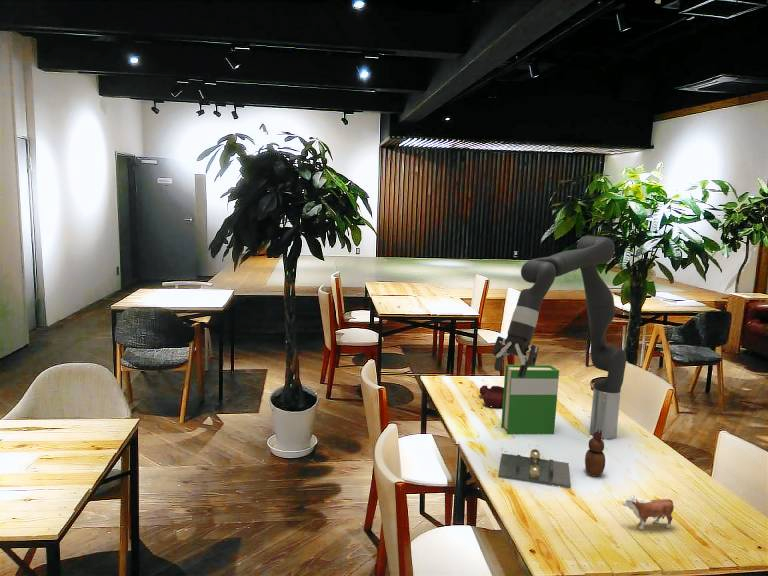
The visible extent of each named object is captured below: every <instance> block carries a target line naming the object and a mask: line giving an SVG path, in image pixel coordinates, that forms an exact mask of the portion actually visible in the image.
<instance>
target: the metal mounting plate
mask: <svg viewBox="0 0 768 576" xmlns="http://www.w3.org/2000/svg"><path fill="white" fill-rule="evenodd" d="M529 454H530V455H529V456H522V455H521V454H509V453H501V456H500V461H499V462H500V463H499V468H498V474H497V478H502V479H508V480H513V481H514V480H515V481H519V482H527V483H531V484H532V483H533V484H541V485H545V484H546V485H547V486H552V485H554V486H553V487H558V486H560V487H559V488H564V489H565V488H566V489H572V488H571V487H572V483H571V482H572V481H571V475H570V474H571V473H570V464H569V462H564V461H563V462H562V461H558V460H554V459H544V458H541V453H540V451H539V449H536V448H535V449H531V451H530V452H529Z"/></svg>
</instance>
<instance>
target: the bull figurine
mask: <svg viewBox="0 0 768 576" xmlns="http://www.w3.org/2000/svg"><path fill="white" fill-rule="evenodd" d="M622 505H623V506H624V507H627V508H628V509H630V510H631V511H632V512H633V514H634V515H635V516H636V517H637V519H639V521H638V523H637V525H638V526H639V527H638V530H639V531H643V530H644V529H645V527H644V526H645V524H646V523H647V520H648V518H653V519H654V520H653V521H652V523H653V524H655V525H656V524H657V523H659V522H660V519H662V520H664V519H665V518H666V519H667V524H666V525H665V529H671V528H670V527H672V525H671V524H672V521H673V517H672V514H673V512H674V509H675V505H674V501H673V500H672V499H671V498H667V499H662V498H659V499H658V498H657V499H646V498H645V499H643V498H641V497H639V498H636V497H635V495H630V496H628V497H627V498H626V500H625V501H623V502H622Z"/></svg>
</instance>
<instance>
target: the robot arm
mask: <svg viewBox="0 0 768 576" xmlns="http://www.w3.org/2000/svg"><path fill="white" fill-rule="evenodd" d="M615 248H616V247H615V243H614V242H613V240H612V239H611V238H610V237H605V236H593V235H583V236H581V237H580V238H579V240H578V242H577V245H576V249H571V250H565V251H564V250H563V251H561V252H557V253H555V254H551V255H550V256H544V257H538V258H533V259H529V260H527V261H526V262H525V263H524V264H523V265H522V267H521V269H520V274H521V275H520V276H521V278H522V279H523V280H524V282H527V283H530V284H533V285H532V286H531V287H530V288H524V289H522V290H521V291H520V293H519V296H518V298H517V303H516V306H515V308H514V311H513V313H512V317H511V320H510V323H509V326H508V329H507V337H506V338H504V337H502V336H497V337H496V340H495V343H494V346H493V348H492V352H491V353H492V354H491V355H494V356H495V363H494V366H493V368H494V371H497V372H501V370H502V366H503V363H504V359H505V358H506V357H507V356H509V355H512V356H517V357H518V358H519V360H520V363H521V364H520V365H521V366H520V369H519V372H518V377H519V378H523V377H525V375H526V372H527V368H528V367H529V366H535V365H536V362H537V358H538V354H539V353H538V352H539V347H538V346H536V345H534V344H532V345H531V342H532V340H533V337H534V334H535V330H536V327H537V323H538V319H539V313H540V311H541V307H542V303H543V300H544V298H545V297H546V295H547V293H548V292H549V291H550V289H551V287H552V285H553V284H554V282H555V280H556V278H557V277H561V276H563V275H566V274H568V273H571V272H574V271H576V270H579V269H580V273H581V277H582V282H583V287H584V288H583V289H584V294H585V305H586V311H587V313H586V314H587V318H588V325H589V335H590V337H589V338H590V359H591V363H592V366H593V367H594V368H595V369H598V370H600V371H603V372H607V376H606V377H605V378H596V379H595V380H594V383H593V393H592V394H593V395H592V403H591V412H590V413H591V414H590V422H589V423H590V425H589V426H590V427H589V434H590V435H592V436H593V435H594V433H596V431H598V429H599V433H600V431H601V430H602V438H601V439H602V440H613V439H616V438H617V432H618V422H619V414H620V413H619V411H620V399H621V392H622V390H621V389H622V386H623V382H624V377H625V373H626V372H625V370H626V364H627V354H626V351H625V350H624V349H622V348H619V347H615V346H611V345H609V344H608V345H607V342H606V332H607V330H608V329H609V326H610V325H611V323H612V322H613V321H614V318H615V316H616V307H615V306H616V305H615V299H614V295H613V292H612V291H611V289H610V288H609V286H607V284H606V283H605V281H604V280H603V278H602V277H601V275H600V274H599V270H598V269H597V265H603V264H607V263H609V262H611V260H612V259H613V257H614V256H615ZM504 345H505V346H504ZM528 351H529V352H528ZM527 352H528V353H529V354H528V353H527Z"/></svg>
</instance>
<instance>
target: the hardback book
mask: <svg viewBox="0 0 768 576" xmlns="http://www.w3.org/2000/svg"><path fill="white" fill-rule="evenodd" d="M521 365H522V364H505V366H504V367H505V368H504V379H503V380H504V381H503V388H504V393H503V407H502V409H501V410H502V411H501V422H500V423H501V424H500V425H501V426H500V427H501V428H502V429H503V428H504V429H505V430H506V435H555V430H556V429H555V428H556V427H555V425H556V417H557V416H556V413H557V402H558V392H559V391H558V389H559V378H560V370H559V369H558V368H556V367H554V366H553V365H551V364H547V365H546V364H535V366H529V367H528V368H527V372H526V375H525V377H523V378H519V377H518V372H519V369H520V366H521Z"/></svg>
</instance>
